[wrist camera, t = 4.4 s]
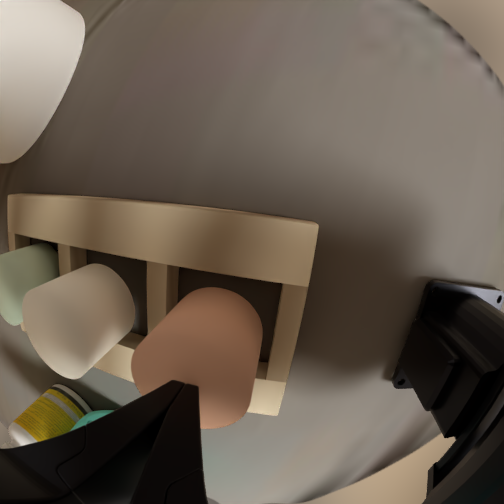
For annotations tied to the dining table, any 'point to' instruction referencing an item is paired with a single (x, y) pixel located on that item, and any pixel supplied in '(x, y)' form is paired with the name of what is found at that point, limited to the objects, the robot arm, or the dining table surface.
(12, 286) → the button sage
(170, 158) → the dining table surface
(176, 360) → the button terracotta
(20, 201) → the three-slot wooden rack
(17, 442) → the supplement bottle
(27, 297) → the button cream
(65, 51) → the canister
